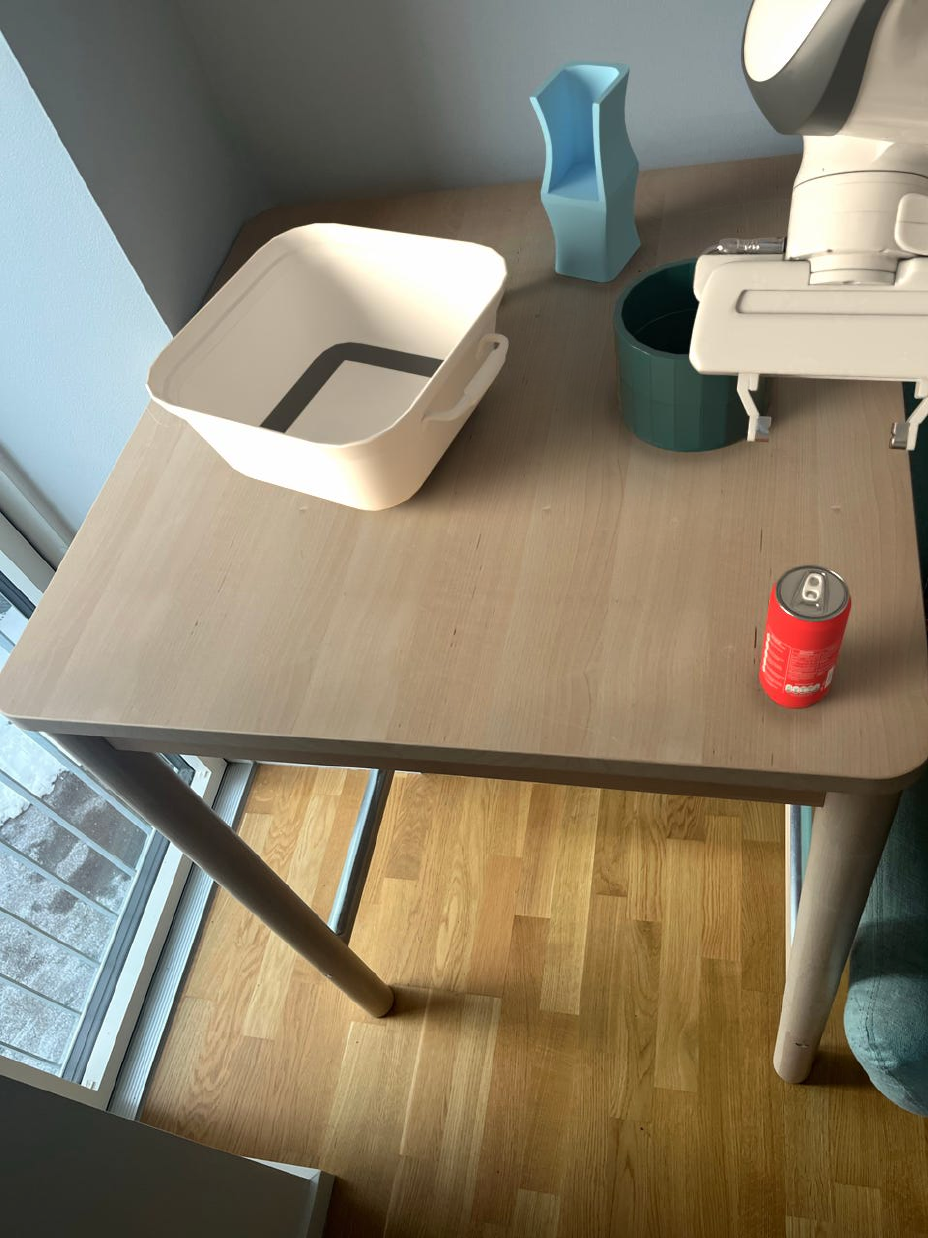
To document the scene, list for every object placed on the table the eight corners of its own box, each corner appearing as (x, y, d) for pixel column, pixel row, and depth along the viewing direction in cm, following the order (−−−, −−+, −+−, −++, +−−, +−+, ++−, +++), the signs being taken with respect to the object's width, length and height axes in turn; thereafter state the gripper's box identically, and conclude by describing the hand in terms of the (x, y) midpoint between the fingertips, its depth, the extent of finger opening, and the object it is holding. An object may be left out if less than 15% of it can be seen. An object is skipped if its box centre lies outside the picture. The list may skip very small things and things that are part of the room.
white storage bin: (571, 378, 95) (557, 253, 84) (442, 581, 83) (404, 468, 71) (312, 326, 109) (269, 213, 98) (168, 494, 97) (98, 387, 85)
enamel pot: (773, 350, 92) (783, 253, 83) (767, 454, 84) (778, 359, 76) (628, 351, 96) (623, 259, 87) (610, 450, 88) (603, 360, 80)
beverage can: (751, 704, 70) (764, 614, 60) (765, 649, 73) (779, 555, 63) (822, 720, 68) (846, 631, 59) (834, 664, 71) (859, 569, 61)
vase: (550, 272, 107) (528, 97, 91) (581, 233, 110) (565, 58, 94) (611, 284, 103) (599, 104, 87) (641, 244, 107) (635, 63, 91)
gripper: (694, 227, 61) (673, 436, 64) (1038, 223, 55) (999, 454, 58) (701, 247, 67) (681, 438, 70) (1013, 245, 61) (978, 454, 64)
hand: (827, 445), depth 64 cm, fingers open, 8 cm apart
